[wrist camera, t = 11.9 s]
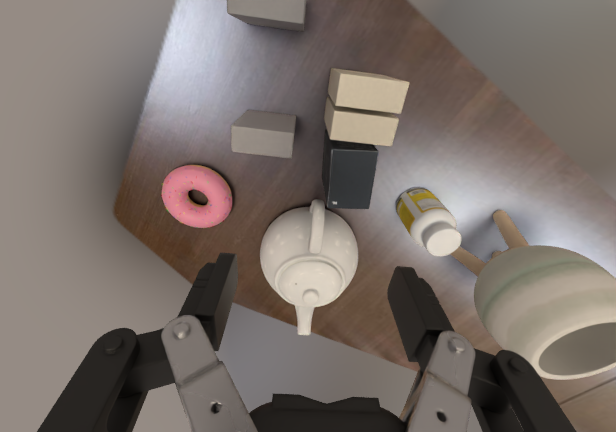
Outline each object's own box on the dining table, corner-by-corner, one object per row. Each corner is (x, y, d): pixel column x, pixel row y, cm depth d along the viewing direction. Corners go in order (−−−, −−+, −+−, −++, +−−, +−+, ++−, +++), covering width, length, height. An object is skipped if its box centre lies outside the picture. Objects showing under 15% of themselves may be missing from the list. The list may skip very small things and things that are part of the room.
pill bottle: (402, 224, 48) (427, 268, 39) (389, 196, 46) (412, 236, 36) (437, 208, 47) (473, 250, 37) (426, 178, 44) (462, 215, 34)
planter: (514, 183, 44) (671, 282, 25) (535, 245, 51) (672, 360, 32) (423, 230, 49) (497, 343, 30) (454, 281, 56) (530, 400, 37)
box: (355, 177, 44) (369, 210, 35) (321, 176, 44) (325, 209, 34) (363, 128, 40) (380, 151, 31) (325, 127, 39) (331, 149, 30)
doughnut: (192, 146, 41) (181, 155, 37) (248, 192, 45) (243, 204, 41) (155, 191, 45) (142, 203, 41) (210, 230, 49) (203, 244, 45)
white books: (331, 67, 35) (340, 73, 26) (382, 74, 36) (409, 82, 27) (323, 118, 39) (329, 139, 29) (370, 124, 39) (391, 146, 30)
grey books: (247, -8, 31) (225, -31, 23) (306, 1, 32) (307, -18, 23) (247, 130, 40) (231, 152, 31) (294, 136, 40) (291, 158, 32)
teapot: (377, 246, 51) (399, 303, 39) (303, 290, 57) (302, 350, 45) (317, 175, 43) (321, 220, 32) (238, 234, 49) (218, 290, 38)
